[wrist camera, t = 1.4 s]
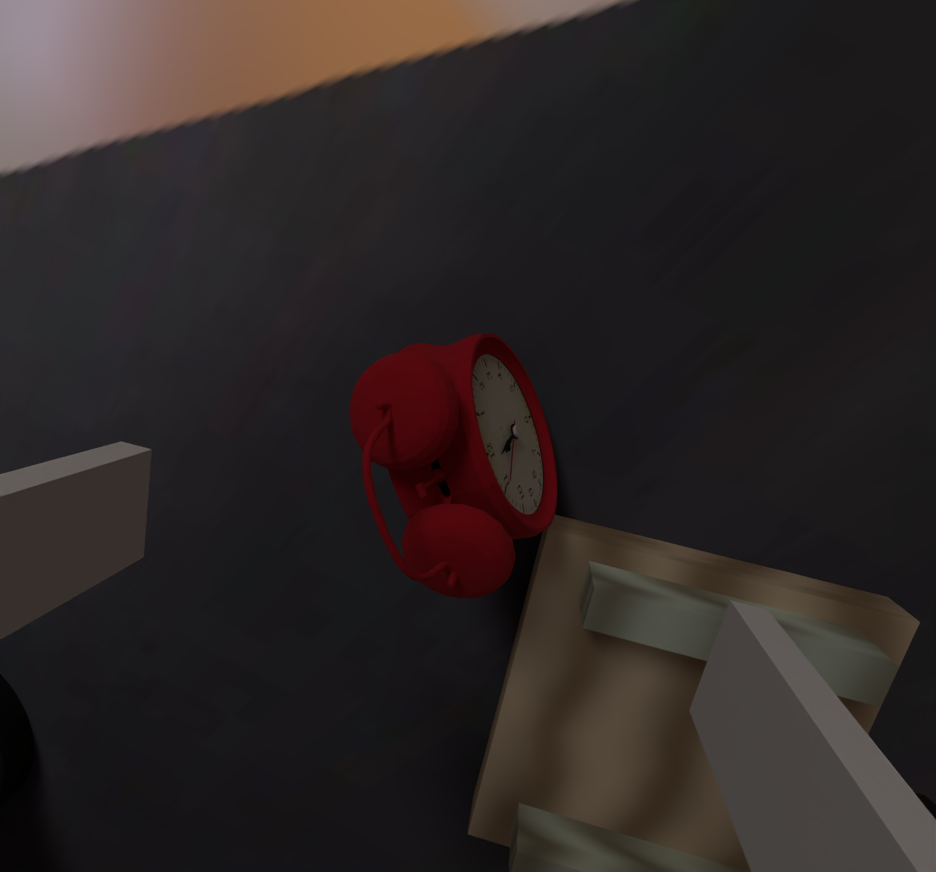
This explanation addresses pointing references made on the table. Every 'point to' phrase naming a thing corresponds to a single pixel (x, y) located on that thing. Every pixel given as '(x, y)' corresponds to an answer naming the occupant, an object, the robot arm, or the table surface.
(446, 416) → the alarm clock
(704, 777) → the display stand
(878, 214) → the table surface
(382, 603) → the table surface
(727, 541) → the table surface
